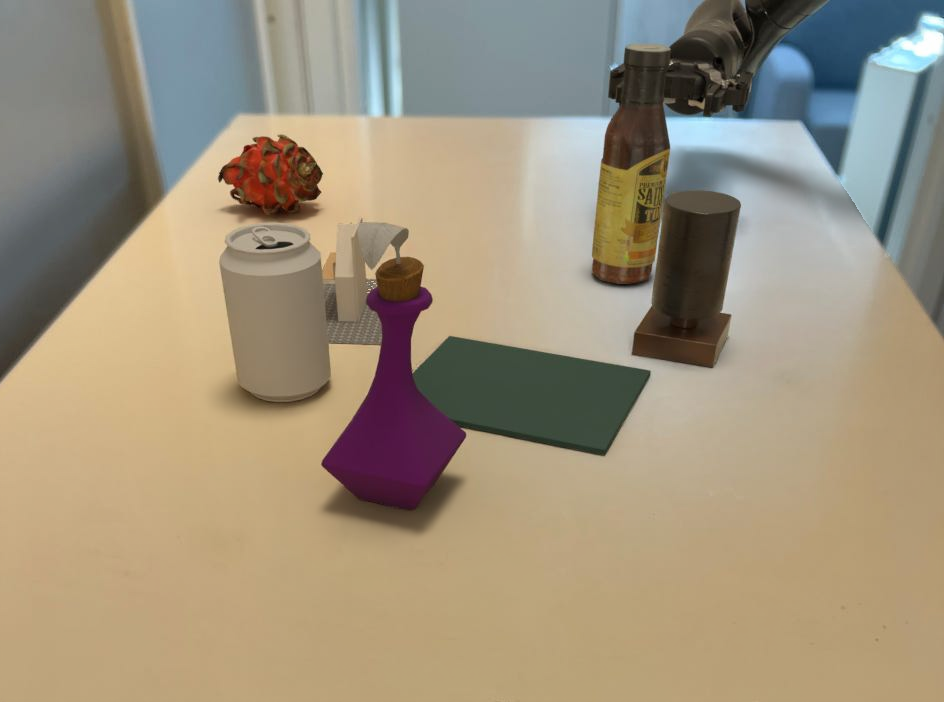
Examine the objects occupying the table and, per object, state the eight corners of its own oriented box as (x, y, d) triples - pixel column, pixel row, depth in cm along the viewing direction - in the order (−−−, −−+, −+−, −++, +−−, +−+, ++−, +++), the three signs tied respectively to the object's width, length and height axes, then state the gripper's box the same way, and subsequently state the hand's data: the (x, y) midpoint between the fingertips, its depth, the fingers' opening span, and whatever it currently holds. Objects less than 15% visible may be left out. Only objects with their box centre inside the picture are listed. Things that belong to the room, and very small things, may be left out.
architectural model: (321, 320, 90) (313, 237, 85) (333, 291, 95) (326, 211, 90) (358, 321, 90) (353, 237, 85) (368, 292, 95) (364, 212, 90)
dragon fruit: (333, 229, 113) (234, 240, 115) (335, 165, 115) (238, 177, 117) (309, 178, 105) (203, 192, 107) (312, 111, 107) (208, 125, 109)
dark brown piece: (727, 335, 88) (754, 194, 80) (712, 367, 83) (739, 220, 75) (650, 323, 90) (669, 183, 82) (631, 354, 85) (649, 208, 77)
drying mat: (650, 375, 82) (651, 370, 82) (604, 455, 72) (605, 449, 72) (449, 340, 87) (449, 335, 87) (380, 410, 77) (380, 405, 77)
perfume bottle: (371, 454, 72) (355, 194, 60) (467, 474, 70) (470, 209, 58) (323, 506, 67) (295, 232, 55) (425, 530, 65) (419, 250, 53)
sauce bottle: (637, 292, 96) (665, 57, 83) (578, 279, 98) (597, 49, 85) (663, 271, 100) (694, 44, 87) (607, 259, 102) (629, 37, 89)
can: (262, 415, 76) (240, 258, 68) (224, 378, 81) (199, 228, 73) (348, 391, 79) (336, 238, 72) (306, 357, 84) (291, 210, 76)
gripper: (640, 24, 109) (599, 51, 97) (771, 34, 105) (744, 64, 94) (631, 100, 114) (592, 134, 102) (756, 112, 110) (730, 150, 98)
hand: (665, 101), depth 98 cm, fingers open, 8 cm apart
